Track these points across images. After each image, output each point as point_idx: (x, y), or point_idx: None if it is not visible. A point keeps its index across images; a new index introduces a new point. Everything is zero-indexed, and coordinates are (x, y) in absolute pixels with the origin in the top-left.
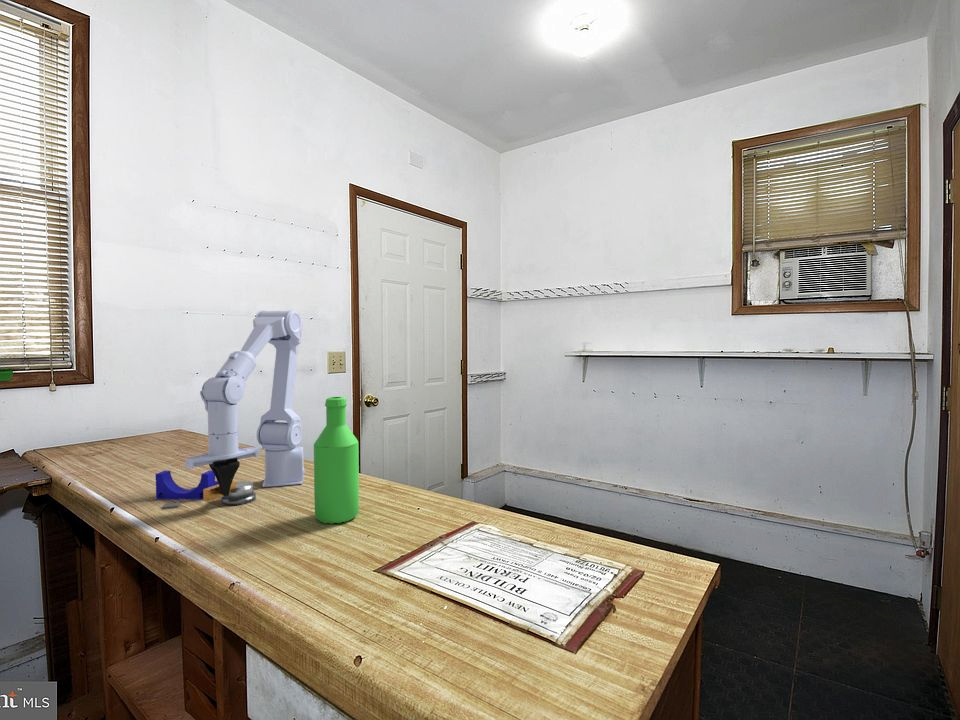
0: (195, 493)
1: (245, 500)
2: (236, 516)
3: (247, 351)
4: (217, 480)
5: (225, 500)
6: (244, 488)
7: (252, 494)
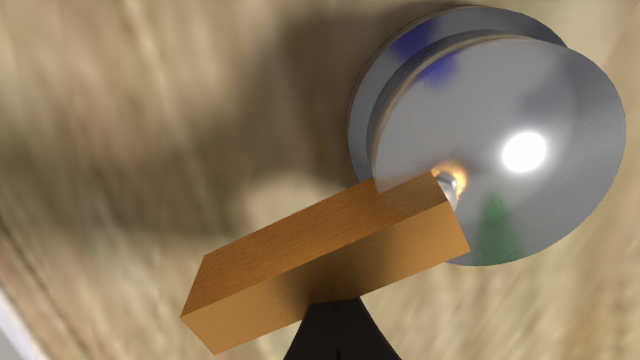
0: None
1: None
2: None
3: None
4: (292, 347)
5: (358, 173)
6: (488, 263)
7: None
